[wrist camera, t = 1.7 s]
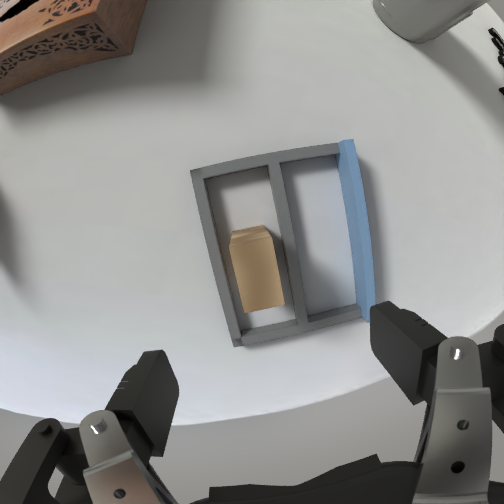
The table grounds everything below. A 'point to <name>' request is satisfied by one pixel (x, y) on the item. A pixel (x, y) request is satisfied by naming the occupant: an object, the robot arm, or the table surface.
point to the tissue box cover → (62, 35)
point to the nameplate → (500, 44)
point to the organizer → (357, 234)
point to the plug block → (256, 269)
